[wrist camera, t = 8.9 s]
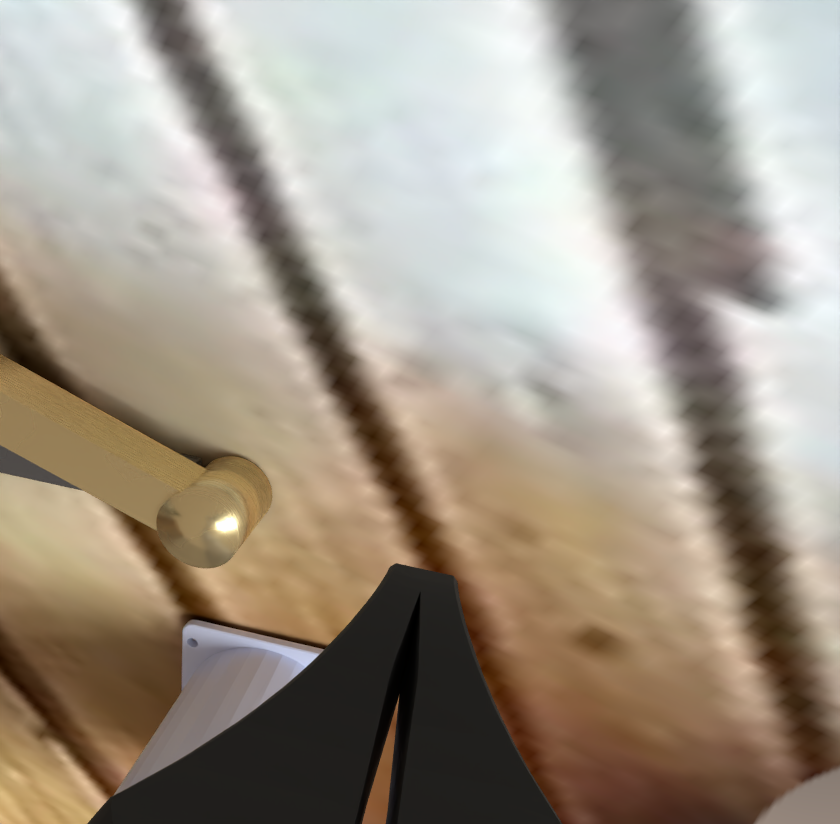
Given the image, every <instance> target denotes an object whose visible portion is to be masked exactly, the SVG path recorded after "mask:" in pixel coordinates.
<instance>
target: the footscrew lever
mask: <svg viewBox="0 0 840 824" xmlns="http://www.w3.org/2000/svg"><path fill="white" fill-rule="evenodd" d="M0 445H1V446H3V447H5V448H7V449H8V450H10V451H12V452H14V453H16V454H18V455H19V456H21V457H23V458H25V459H27V460H29V461H30V462H32V463H34V464H36V465H38V466H39V467H41V468H43V469H45V470H47V471H49V472H50V473H52V474H54V475H56V476H58V477H60V478H61V479H63V480H65V481H67V482H69V483H71V484H72V485H74V486H76V487H78V488H80V489H82V490H83V491H85V492H87V493H89V494H91V495H92V496H94V497H96V498H98V499H100V500H102V501H103V502H105V503H107V504H109V505H111V506H113V507H114V508H116V509H118V510H120V511H122V512H124V513H125V514H127V515H129V516H131V517H133V518H135V519H136V520H138V521H140V522H142V523H144V524H146V525H147V526H149V527H151V528H153V529H155V530H156V531H158V535H159V537H160V540H161V541H162V543H163V545H164V546H165V548H166V549H167V550H168V551H169V552H170V553H171V554H172V555H173V556H174V557H176V558H177V559H178V560H180V561H182V562H184V563H186V564H188V565H191V566H194V567H198V568H214V567H218V566H221V565H223V564H225V563H226V562H228V561H229V560H230V559H231V558H232V557H233V555H234V554H235V553H236V552H237V550H238V549H239V548H240V546H241V545H242V544H243V542H244V541H245V540H246V539H247V537H248V536H249V535H250V533H251V532H252V531H253V529H254V528H255V527H256V526H257V524H258V523H259V522H260V520H261V519H262V518H263V516H264V515H265V514H266V513H267V511H268V509H269V508H270V505H271V502H272V489H271V486H270V483H269V481H268V479H267V477H266V475H265V474H264V473H263V472H262V471H261V470H260V469H259V468H258V467H257V466H256V465H255V464H253V463H252V462H250V461H248V460H246V459H243V458H240V457H234V456H226V457H221V458H218V459H215V460H214V461H212V462H211V463H209V464H208V465H207V466H206V467H205V468H203V467H202V466H200V465H198V464H196V463H194V462H193V461H191V460H189V459H187V458H186V457H184V456H182V455H180V454H178V453H177V452H175V451H173V450H171V449H169V448H168V447H166V446H164V445H162V444H160V443H159V442H157V441H155V440H153V439H152V438H150V437H148V436H146V435H144V434H143V433H141V432H139V431H137V430H135V429H134V428H132V427H130V426H128V425H126V424H125V423H123V422H121V421H119V420H117V419H116V418H114V417H112V416H110V415H109V414H107V413H105V412H103V411H101V410H100V409H98V408H96V407H94V406H92V405H91V404H89V403H87V402H85V401H83V400H82V399H80V398H78V397H76V396H75V395H73V394H71V393H69V392H67V391H66V390H64V389H62V388H60V387H58V386H57V385H55V384H53V383H51V382H49V381H48V380H46V379H44V378H42V377H41V376H39V375H37V374H35V373H33V372H32V371H30V370H28V369H26V368H24V367H23V366H21V365H19V364H17V363H15V362H14V361H12V360H10V359H8V358H7V357H5V356H3V355H1V354H0Z"/></svg>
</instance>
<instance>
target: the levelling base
mask: <svg viewBox="0 0 840 824" xmlns="http://www.w3.org/2000/svg"><path fill="white" fill-rule="evenodd" d="M178 454H180V453H178ZM180 455H182V456H184V457H186V458H187V459H189V460H191V461H193V462H194V463H196V464H198V465H200V466H201V458H199V457H194V456H189V455H185V454H180ZM0 472H1V473H5V474H10V475H14V476H19V477H24V478H28V479H33V480H37V481H42V482H46V483H51V484H56V485H60V486H65V487H69V488H74V489H78V490H82V489H80V488H78V487H76V486H74V485H72V484H71V483H69V482H67V481H65V480H63V479H61V478H60V477H58V476H56V475H54V474H52V473H50V472H49V471H47V470H45V469H43V468H41V467H39V466H38V465H36V464H34V463H32V462H30V461H29V460H27V459H25V458H23V457H21V456H19V455H18V454H16V453H14V452H12V451H10V450H8V449H7V448H5V447H3V446H1V445H0Z"/></svg>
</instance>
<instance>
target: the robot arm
mask: <svg viewBox="0 0 840 824" xmlns="http://www.w3.org/2000/svg"><path fill="white" fill-rule="evenodd" d="M194 639H195V640H194ZM399 694H400V695H399ZM398 697H399V704H398V714H397V724H396V734H395V744H394V754H393V763H392V773H391V783H390V793H389V803H388V812H387V819H386V824H562V823H561V821H560V819H559V818H558V816H557V815H556V813H555V811H554V810H553V808H552V807H551V805H550V803H549V802H548V800H547V799H546V797H545V795H544V794H543V792H542V791H541V789H540V787H539V786H538V784H537V783H536V781H535V779H534V778H533V776H532V775H531V773H530V771H529V769H528V768H527V766H526V764H525V762H524V760H523V758H522V757H521V755H520V753H519V751H518V749H517V747H516V746H515V744H514V742H513V740H512V738H511V736H510V734H509V732H508V730H507V728H506V726H505V724H504V722H503V720H502V718H501V716H500V713H499V711H498V709H497V707H496V705H495V702H494V700H493V698H492V696H491V693H490V691H489V688H488V686H487V683H486V681H485V679H484V676H483V674H482V671H481V668H480V666H479V663H478V660H477V657H476V654H475V651H474V648H473V645H472V642H471V639H470V636H469V633H468V630H467V626H466V623H465V619H464V615H463V611H462V607H461V603H460V598H459V592H458V583H457V581H456V579H455V578H454V576H451V575H447V574H442V573H438V572H433V571H428V570H424V569H419V568H415V567H410V566H406V565H401V564H397V563H396V564H394V565H392V566H391V567H390V568H389V570H388V572H387V574H386V575H385V577H384V579H383V580H382V582H381V583H380V585H379V586H378V588H377V589H376V591H375V592H374V593H373V595H372V596H371V597H370V599H369V600H368V601H367V603H366V604H365V605H364V606H363V607H362V609H361V610H360V611H359V612H358V613H357V615H356V616H355V617H354V618H353V619H352V621H351V622H350V623H349V624H348V625H347V626H346V627H345V629H344V630H343V631H342V632H341V633H340V634H339V635H338V636H337V637H336V638H335V639H334V640H333V641H332V642H331V643H330V644H329V645H328V646H327V647H326V648H325V649H320V648H316V647H312V646H307V645H303V644H299V643H294V642H290V641H286V640H281V639H277V638H273V637H269V636H264V635H260V634H256V633H251V632H247V631H243V630H238V629H234V628H230V627H225V626H221V625H217V624H212V623H208V622H204V621H199V620H190V621H188V622H187V623H186V625H185V626H184V627H183V631H182V692H181V694H180V695H179V697H178V698H177V700H176V701H175V703H174V704H173V706H172V707H171V709H170V710H169V712H168V713H167V715H166V716H165V718H164V719H163V721H162V722H161V724H160V725H159V727H158V729H157V730H156V732H155V733H154V735H153V736H152V738H151V739H150V741H149V742H148V744H147V745H146V747H145V748H144V750H143V751H142V753H141V754H140V756H139V757H138V759H137V760H136V762H135V764H134V765H133V767H132V768H131V770H130V771H129V773H128V774H127V776H126V777H125V779H124V780H123V782H122V783H121V785H120V786H119V788H118V789H117V791H116V792H115V794H114V795H113V796H112V797H110V798H109V800H108V801H107V802H106V803H105V804H104V805H103V806H102V807H101V808H100V810H99V811H98V812H97V813H96V814H95V815H94V817H93V818H92V819H91V820H90V821H89V822H88V824H362V821H363V817H364V813H365V809H366V805H367V802H368V798H369V795H370V792H371V788H372V785H373V781H374V778H375V775H376V771H377V768H378V765H379V761H380V758H381V755H382V751H383V748H384V744H385V741H386V738H387V734H388V731H389V728H390V724H391V721H392V717H393V714H394V711H395V707H396V704H397V701H398Z"/></svg>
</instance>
